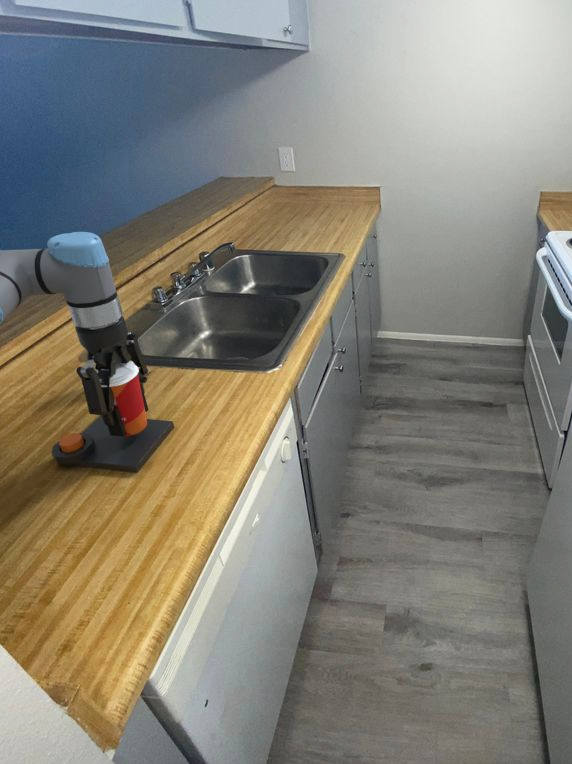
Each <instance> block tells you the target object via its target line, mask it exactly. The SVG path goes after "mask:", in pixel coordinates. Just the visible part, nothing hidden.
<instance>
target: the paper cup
mask: <svg viewBox="0 0 572 764" xmlns="http://www.w3.org/2000/svg"><path fill="white" fill-rule="evenodd" d="M138 368H139V367H137V366H136V365H135V364H134V363H133V362H132V361H129V362H128V363H127V364H126V363H118V364H117V365H116V374H115V375H113V376H112V377H111V378H110V385H109V387H111V389H112V391H113V394H114V407H118V409H119V412H120V415H121V418H122V422H123V425H124V428H125V431H126V435H125V436H131V435H135V434H137V433H139V432H141V431H142V430H143V429H144V428H145V427H146V426H147V419H148V418H147V412H145V407H144V402H143V397H142V392H141V387H140V382H139V377H138V372H139V369H138ZM101 370H106V369H101ZM101 380H102V379H100V382H101ZM102 383H104V382H102ZM101 387H107V386H106V385H101ZM105 405H106V404H105Z"/></svg>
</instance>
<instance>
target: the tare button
mask: <svg viewBox="0 0 572 764" xmlns="http://www.w3.org/2000/svg"><path fill="white" fill-rule="evenodd" d="M79 433H80V432H73V433H68V434H67V435H65V436H63V437H62V438H61V439H59V441H60V442H59V441H58V442H59V444H60V447H61V449H62V451H63V452H64V453H70V452H74V451H76V450H78V449H80V448H81V447H82V446H83V445H84V441H83V438H82V435H81V434H79Z"/></svg>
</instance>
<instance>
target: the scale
mask: <svg viewBox="0 0 572 764" xmlns="http://www.w3.org/2000/svg"><path fill="white" fill-rule="evenodd" d="M173 421H174V420H162V419H155V418H154V419H153V418H147V426H146V427H145V428H144V429H143V430H142V431H141V432H139V433H137V434H135V435H131V436H124V437H122V436H112V435H110V432H109V429H108V426H107V425H105V424H104V421H103V418H102V415H98V417H97V418H96V419H95V420H93V422H92V423H90V424H89V425H88V426H87V427H86V428H85V429H84V431H82V432H78V433H79V434H81V435H82V438H83V441H84V445H83V446H82V447H81V448H80V449H78V450H76V451H74V452H70V453H64V452H63V451H62V449H61V447H60V444H59V442H60V440H59V441H57V443H55V444H54V445H53V446H52V450H51V455H52V457H53V460H54V461H55V462H56V463H57V465H59V466H68V467H78V468H86V469H96V470H103V471H104V470H105V471H106V470H107V471H115V472H124V473H132V474H138V473H139V472H140V471H141V470H142V469H143V467H144V466H145V465H146V464H147V463H148V461H149V460H150V458H151V457H152V456H153V455H154V454H155V452H156V451H157V450H158V448H159V447H160V446H161V445H162V443H163V442H164V441H165V440H166V438H167V437H168V436H169V435H170V433H171V432H172V431H173V430H174V428H175V424H174V422H173Z"/></svg>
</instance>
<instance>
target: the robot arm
mask: <svg viewBox="0 0 572 764" xmlns="http://www.w3.org/2000/svg"><path fill="white" fill-rule="evenodd" d="M46 245H47V247H46V248H32V249H31V248H30V249H5V250H3V249H0V325H2V322H4V321H5V320H6V318H8V316H10V314H11V313H12V312H14V311H15V310H16V309H17V308H18V307H19V306H21V305H22V304H23V303H24V302H25V301H26V300H27V299H28V298H29V297H32V296H43V295H45V296H46V295H57V294H62V295H63V297H64V299H65V302H66V304H67V308H68V311H69V314H70V317H71V320H72V322H73V324H74V325H75V328H74V329H75V333H76V335H77V338H78V342H79V344H80V345H81V346H82V347H83V348H84V349H85V350H86V352H87V362H86V363H85V364H84V366H78V367H77V368H76V370H75V371H76V373H77V375H78V376H79V378H80V380H81V384H82V388H83V392H84V396H85V401H86V405H87V408H88V413H89V414H90V415H95V416H100V415H102V418H103V421H104V424H105V425H107V426H108V429H109V432H110V435H112V436H122V437H124V436H125V435H126V431H125V428H124V425H123V422H122V418H121V415H120V412H119V409H118V407H114V394H113V391H112V389H111V387H109V385H110V378H111V377H112V376H113V375H115V374H116V365H117V364H118V363H126V364H127V363H128V362H129V361H132V362H133V363H134V364H135V365H136V366H137V367H138V369H139V372H138V377H139V382H140V387H141V392H142V397H143V402H144V407H145V412H146V413H147V412H148V411H149V410H150V409H149V407H148V403H147V399H146V395H145V394H146V391H145V387H144V384H146V383H147V381H148V377H147V375H148V374H149V373H148V370H149V369H148V366H147V364H146V361H145V359H144V356H143V353H142V349H141V347H140V344H139V339H138V338H139V337H138V333H137V332H131V331H128V326H127V323H126V319H125V317H124V315H123V314H124V311H123V307H122V305H121V302H120V301H121V300H120V297H119V294H118V291H117V289H116V285H115V281H114V277H113V274H112V273H113V272H112V269H111V265H110V259H109V256H108V255H107V253H106V249H105V247H104V244H103V241H102V239H101V237H100V236H98V235H97V234H95V233H93V232H89V231H73V232H68V233H67V232H66V233H61V234H57V235H55V236H52V237H51V238H49V239H48V240H47V243H46ZM101 369H106V370H101ZM147 373H148V374H147ZM146 374H147V375H146ZM144 375H146V376H145V377H143V376H144ZM100 379H102V380H101V382H100ZM102 382H104V383H102ZM101 385H106V386H107V387H101ZM105 404H106V405H105Z"/></svg>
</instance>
